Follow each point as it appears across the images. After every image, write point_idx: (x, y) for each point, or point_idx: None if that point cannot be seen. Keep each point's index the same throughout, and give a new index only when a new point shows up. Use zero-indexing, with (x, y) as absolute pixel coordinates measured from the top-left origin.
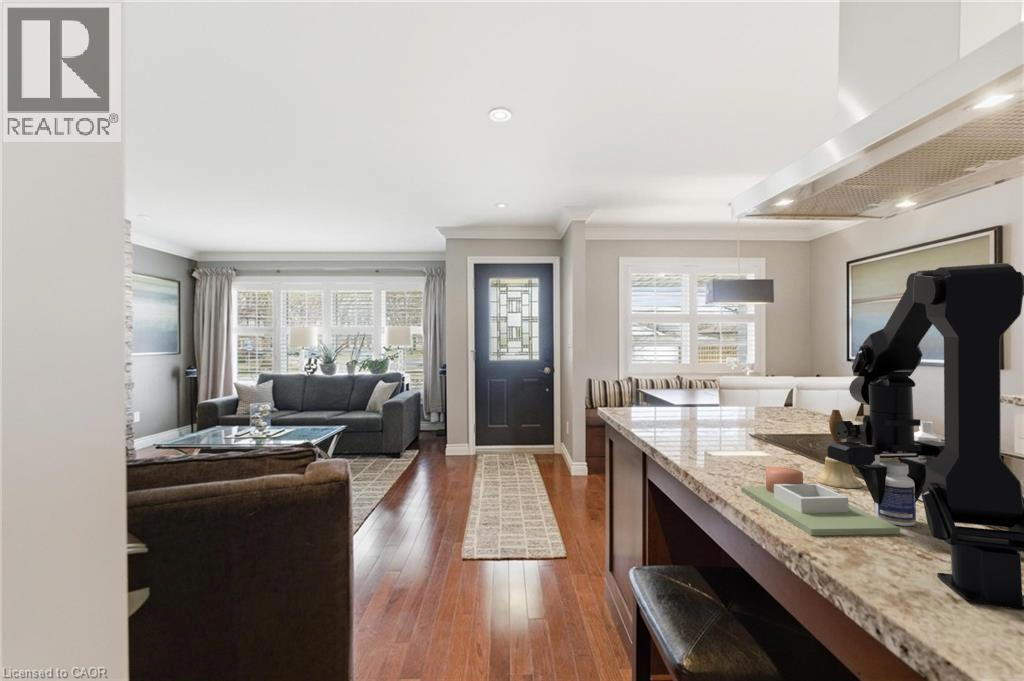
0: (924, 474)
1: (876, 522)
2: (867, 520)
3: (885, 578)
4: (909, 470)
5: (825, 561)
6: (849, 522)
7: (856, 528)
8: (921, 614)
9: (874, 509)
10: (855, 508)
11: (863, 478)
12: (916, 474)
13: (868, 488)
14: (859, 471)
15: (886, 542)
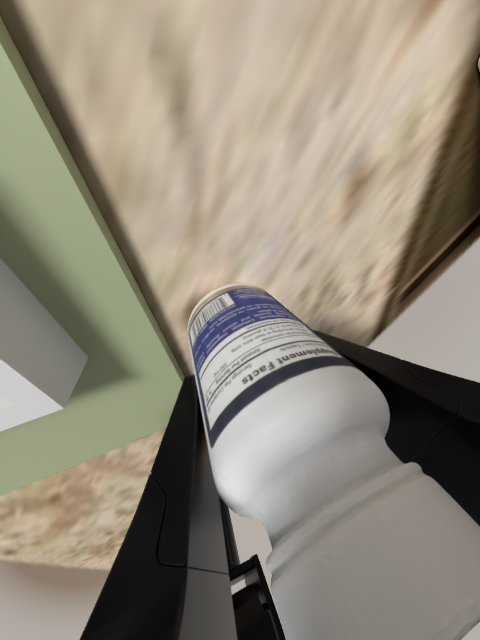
0: None
1: (157, 406)
2: (136, 402)
3: (104, 527)
4: (454, 443)
5: (11, 546)
6: (75, 436)
7: (88, 459)
8: (119, 549)
9: (190, 332)
10: (128, 307)
11: (136, 511)
12: (417, 454)
13: (166, 433)
14: (87, 627)
15: (149, 444)
